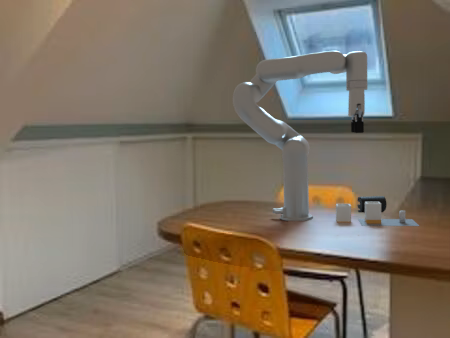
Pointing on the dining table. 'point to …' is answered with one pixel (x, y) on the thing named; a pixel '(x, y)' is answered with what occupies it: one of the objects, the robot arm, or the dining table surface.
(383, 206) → the end cap
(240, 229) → the dining table surface
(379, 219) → the seated sleeve
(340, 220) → the sleeve
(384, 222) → the pin board
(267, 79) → the robot arm
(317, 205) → the dining table surface
